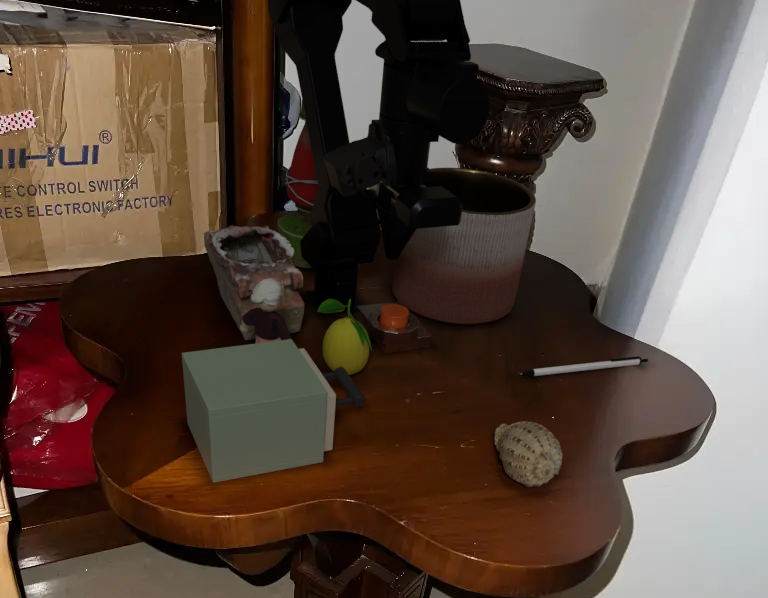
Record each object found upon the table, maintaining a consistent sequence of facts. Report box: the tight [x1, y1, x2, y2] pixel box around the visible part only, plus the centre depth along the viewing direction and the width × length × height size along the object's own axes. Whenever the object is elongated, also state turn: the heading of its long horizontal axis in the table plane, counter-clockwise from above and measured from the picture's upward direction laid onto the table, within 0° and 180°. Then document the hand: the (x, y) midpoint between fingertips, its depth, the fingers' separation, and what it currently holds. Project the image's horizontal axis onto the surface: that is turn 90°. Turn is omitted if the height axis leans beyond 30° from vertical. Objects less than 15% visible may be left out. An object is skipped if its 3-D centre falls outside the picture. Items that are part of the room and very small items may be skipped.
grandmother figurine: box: [239, 278, 292, 344], centre depth 86 cm, size 8×4×13 cm, turn 65°
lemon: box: [316, 299, 373, 376], centre depth 90 cm, size 7×6×10 cm
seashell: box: [494, 421, 563, 488], centre depth 82 cm, size 8×6×10 cm
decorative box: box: [203, 224, 305, 341], centre depth 100 cm, size 13×20×10 cm, turn 17°
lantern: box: [277, 100, 318, 270], centre depth 109 cm, size 14×11×30 cm
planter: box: [391, 167, 537, 326], centre depth 106 cm, size 18×18×16 cm
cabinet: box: [181, 338, 327, 484], centre depth 79 cm, size 12×11×9 cm
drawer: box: [298, 347, 367, 452], centre depth 80 cm, size 15×9×7 cm, turn 114°
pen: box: [520, 355, 649, 377], centre depth 99 cm, size 1×19×1 cm, turn 110°
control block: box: [354, 300, 433, 354], centre depth 101 cm, size 11×8×4 cm
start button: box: [380, 304, 410, 328], centre depth 97 cm, size 4×4×2 cm
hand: (391, 259), depth 91 cm, fingers closed
